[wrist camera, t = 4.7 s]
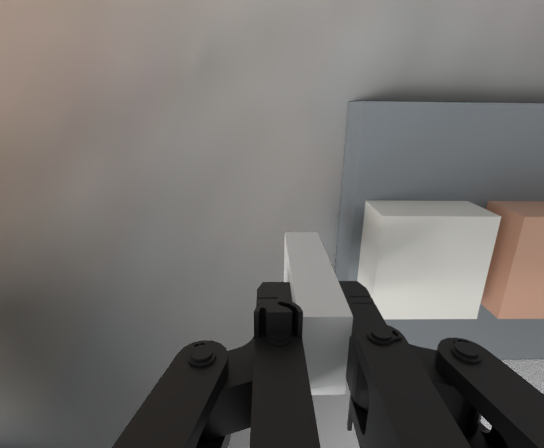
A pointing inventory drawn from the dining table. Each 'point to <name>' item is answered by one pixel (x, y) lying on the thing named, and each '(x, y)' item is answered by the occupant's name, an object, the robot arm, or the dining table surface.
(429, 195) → the board
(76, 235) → the dining table surface
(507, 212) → the tile
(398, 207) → the tile
